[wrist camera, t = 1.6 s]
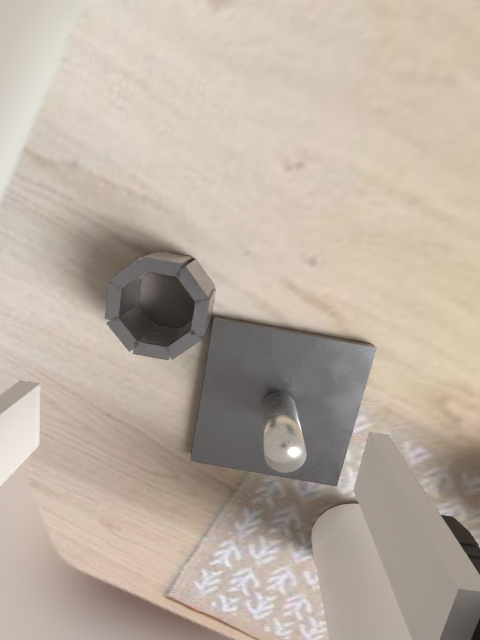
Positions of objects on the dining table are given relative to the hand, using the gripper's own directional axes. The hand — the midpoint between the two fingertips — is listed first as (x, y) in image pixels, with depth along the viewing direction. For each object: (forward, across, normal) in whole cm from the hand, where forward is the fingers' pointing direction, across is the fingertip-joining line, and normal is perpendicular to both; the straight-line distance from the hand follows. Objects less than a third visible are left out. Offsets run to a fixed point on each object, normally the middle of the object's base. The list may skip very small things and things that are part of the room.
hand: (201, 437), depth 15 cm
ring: (+18, -5, +1) cm, 19 cm away
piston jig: (+18, +6, -7) cm, 20 cm away
